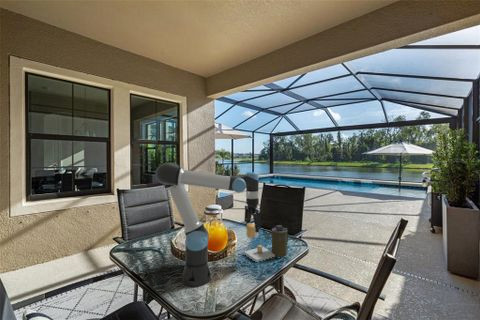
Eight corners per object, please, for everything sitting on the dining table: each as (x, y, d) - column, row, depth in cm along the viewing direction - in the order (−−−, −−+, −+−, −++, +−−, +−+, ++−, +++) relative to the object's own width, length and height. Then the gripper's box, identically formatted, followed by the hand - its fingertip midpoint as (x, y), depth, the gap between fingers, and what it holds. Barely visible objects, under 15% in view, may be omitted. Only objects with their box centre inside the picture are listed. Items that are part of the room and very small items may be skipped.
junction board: (256, 262, 136) (256, 252, 136) (243, 254, 148) (243, 244, 147) (275, 256, 145) (276, 246, 145) (262, 249, 156) (262, 240, 156)
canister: (275, 260, 141) (276, 228, 141) (268, 253, 151) (269, 224, 151) (290, 257, 144) (291, 227, 144) (282, 251, 154) (283, 222, 154)
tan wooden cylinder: (251, 238, 130) (251, 228, 130) (244, 235, 136) (244, 225, 136) (260, 236, 134) (260, 226, 133) (254, 233, 139) (253, 223, 139)
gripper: (267, 199, 128) (267, 239, 128) (248, 194, 145) (248, 229, 145) (257, 201, 124) (257, 241, 124) (238, 196, 141) (238, 231, 141)
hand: (252, 235), depth 135 cm, fingers closed on tan wooden cylinder, 7 cm apart
